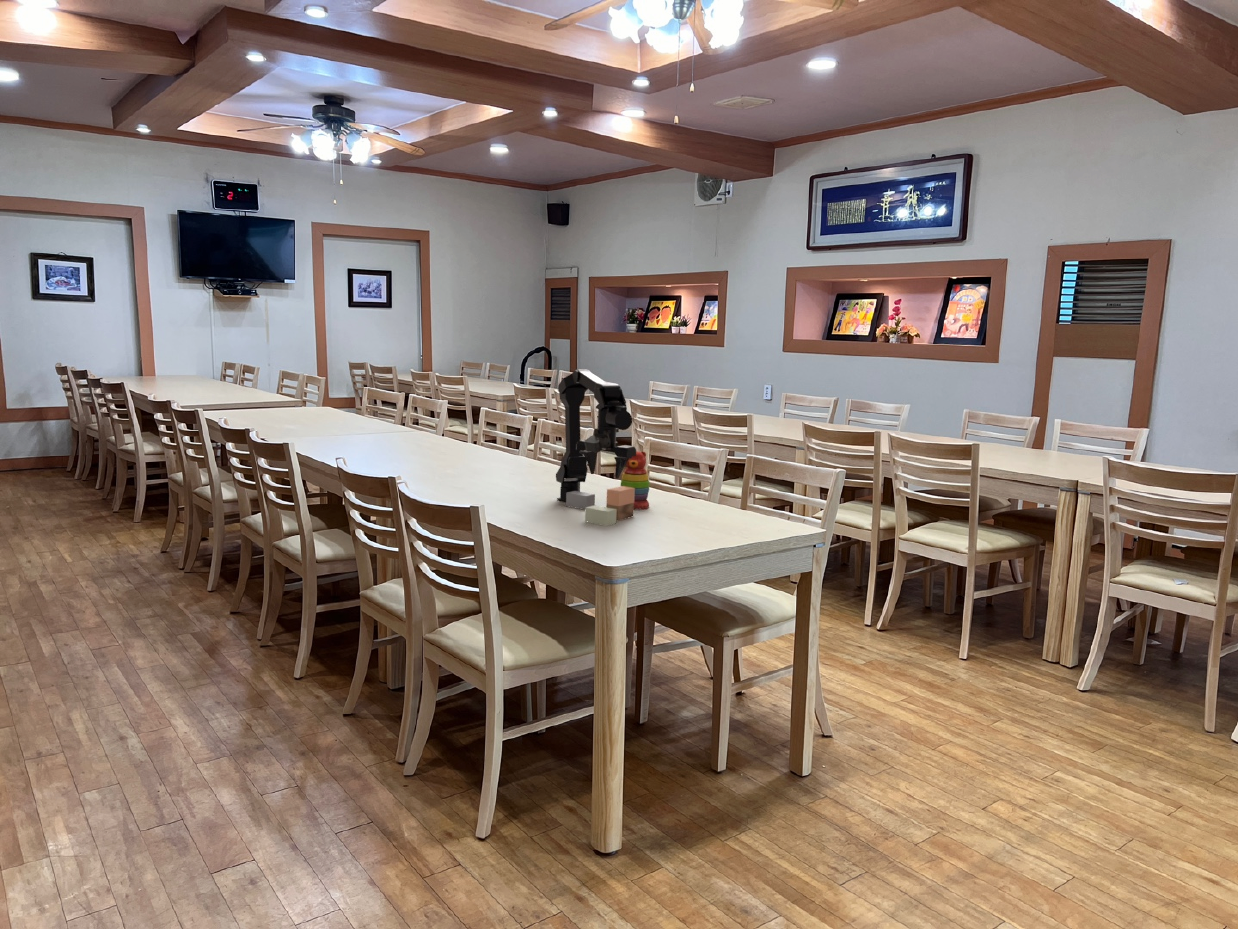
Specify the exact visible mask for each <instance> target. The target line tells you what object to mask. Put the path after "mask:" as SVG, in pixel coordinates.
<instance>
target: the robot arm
mask: <svg viewBox="0 0 1238 929" xmlns="http://www.w3.org/2000/svg"><path fill="white" fill-rule="evenodd" d="M557 390H558V393H559V394H558V395H559V400H560V401H561V403H562V405H563V406H564V421H565V424H564V425H565V452H564V454H563V455H562V458H561V459H560V466H559V467H558V470H557V472H556V473H555V480H556V482H558V483H559V484H560V491H559V492H560V494H559V495H560V496H559V497H556V500H557V501H563V502H566V493H567V492H572V491H579V492H581V483H586V480H587V475H588V472H589V471H590V474H591V475H594V474H595V471H596V466H597V458H598V453H600V452H607V453H608V452H609V453H612V454H613V453H614V454H615V455H616V456H614V457H613V458H614V460H615V479H617V480H618V479H619V478H620V477H621V474H622V472H623V471H624V469H625V466H626V463H627V462H628V460H629V459H630V458H632V456H636V451H637V448H636V447H635V446H634V445H633V446H632V445H627V444H624V445H623V444H622V445H619V442H618V441H617V433H619V430H620V431H625V430H628V429H629V428H630V427H631V426H632V423H633V417H632V415H631V413H630V412H629V411H628V410H627V409H628V408H627V400H626V398H625V396H624V393H623V390H622V388H621V385H620V384H618V383H615V382H608V381H605V380H603V379H602V378H600V377H599V376H597V375H595V374H594V373H592V372H591V370H589V369H580V368H579V369H575V370H574V371H573V372H572V373H571V374H568V375H567V376H565V377H563V378H562V379H561V381H560V382H559V383H558V387H557ZM587 391H590V392H592V393H593V398H594V399H595V400H596V402H597V404H596V406H595V409H597V427H596V428H594V431H593V435H590V436H589V437H587V439H582V438H581V406H582V404H583V402H584V400H585V398H586V392H587ZM588 468H589V471H588Z"/></svg>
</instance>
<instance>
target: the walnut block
mask: <svg viewBox="0 0 1238 929" xmlns="http://www.w3.org/2000/svg"><path fill="white" fill-rule="evenodd" d="M605 507H607V508H612V509H617V512H616V521H617V520H618V521H622V519H623V520H625V518H626V519H629V518H628V517H630V518H633V517H634V509H635V508H634V503H630V504H626V505H622V506H614V505H609V504H607V503H606V505H605ZM632 516H633V517H632Z"/></svg>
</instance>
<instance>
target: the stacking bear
mask: <svg viewBox="0 0 1238 929" xmlns="http://www.w3.org/2000/svg"><path fill="white" fill-rule="evenodd" d="M646 456H647V453H646V452H645V451H637V450H636V456H632V458H630V459H629V460H628V462H627V463H626V465H625V466H626V468H624V470H623V473H622V476H621V480H620V487H621V486H626V487H631V488H635V496H634V509H636V510H647V509H649V508H650V503H649V500H648V496H649V491H650V480H649V475H648V472H647V470H646V469H645V466H646V463H647V457H646Z"/></svg>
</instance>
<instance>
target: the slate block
mask: <svg viewBox="0 0 1238 929" xmlns="http://www.w3.org/2000/svg"><path fill="white" fill-rule="evenodd" d="M595 501H596V494H595V493H590V492H584V491H580V492H579V491H572V492H567V493H566V501H565V507H568V506H570V507H569V508H574V507H576V508H575V509H579V508H581V509H580V510H585V508H586V507H590V506H594V505H596V504H595V503H596V502H595Z"/></svg>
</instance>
